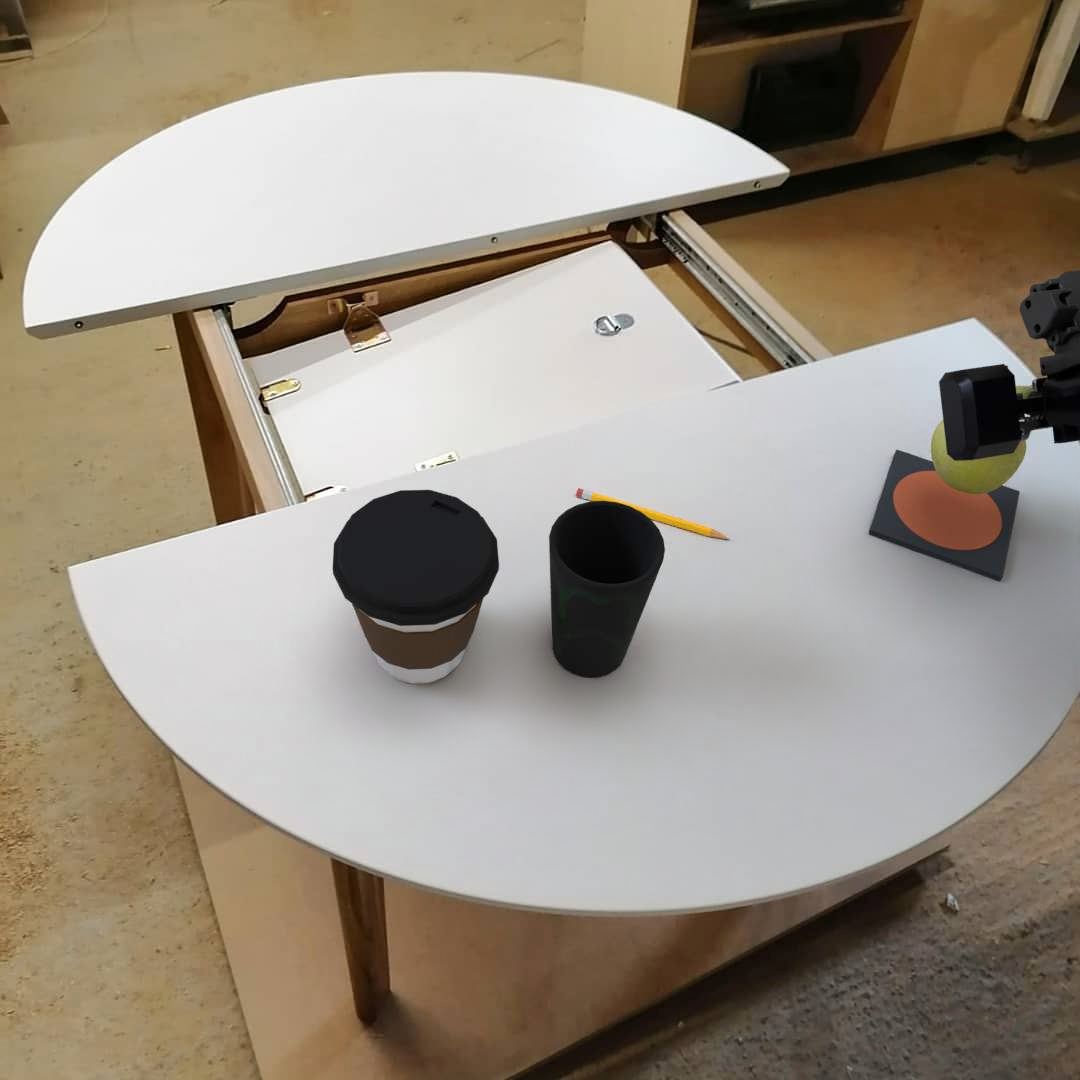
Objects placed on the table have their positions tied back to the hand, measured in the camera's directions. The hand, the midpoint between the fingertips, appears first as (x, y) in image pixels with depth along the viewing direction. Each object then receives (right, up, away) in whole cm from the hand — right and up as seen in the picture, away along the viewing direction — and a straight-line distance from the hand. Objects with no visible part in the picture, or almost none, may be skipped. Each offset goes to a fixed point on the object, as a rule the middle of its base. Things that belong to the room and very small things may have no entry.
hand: (988, 408), depth 79 cm
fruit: (0, -5, +4) cm, 7 cm away
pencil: (-26, -9, +5) cm, 28 cm away
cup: (-32, -18, -4) cm, 37 cm away
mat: (0, -8, +8) cm, 11 cm away
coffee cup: (-44, -18, -5) cm, 48 cm away
